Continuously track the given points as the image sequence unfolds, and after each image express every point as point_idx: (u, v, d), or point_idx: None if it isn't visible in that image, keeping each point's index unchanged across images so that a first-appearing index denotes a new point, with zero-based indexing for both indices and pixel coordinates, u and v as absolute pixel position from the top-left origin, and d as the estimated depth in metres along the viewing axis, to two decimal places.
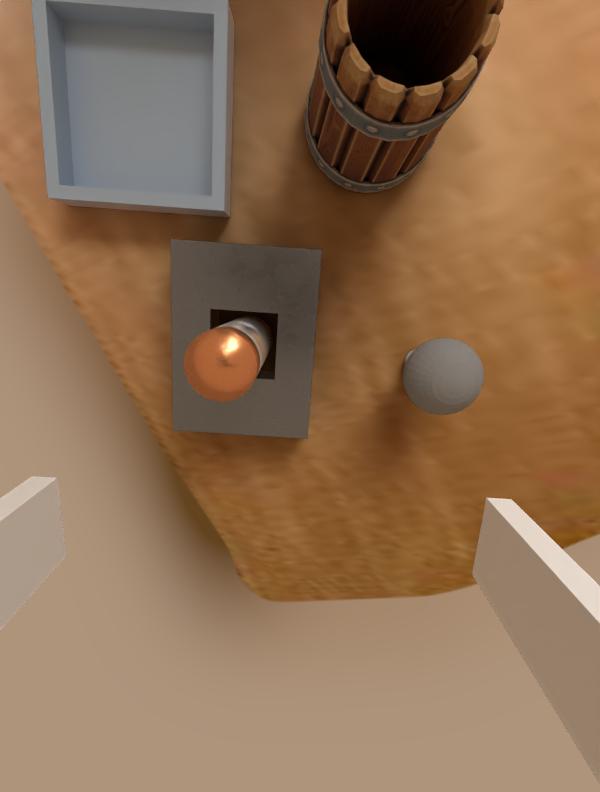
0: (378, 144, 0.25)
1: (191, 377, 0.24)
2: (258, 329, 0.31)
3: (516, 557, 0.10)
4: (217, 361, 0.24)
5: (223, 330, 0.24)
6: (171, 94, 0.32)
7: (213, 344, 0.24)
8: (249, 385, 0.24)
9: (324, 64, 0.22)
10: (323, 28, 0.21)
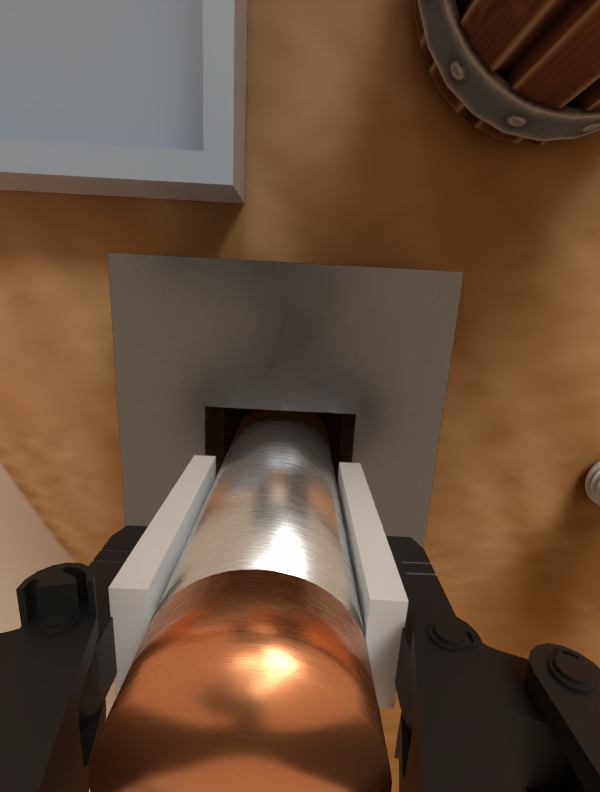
0: None
1: None
2: (321, 470, 0.13)
3: (343, 507, 0.12)
4: (228, 776, 0.06)
5: (253, 669, 0.05)
6: None
7: (210, 722, 0.06)
8: None
9: None
10: None
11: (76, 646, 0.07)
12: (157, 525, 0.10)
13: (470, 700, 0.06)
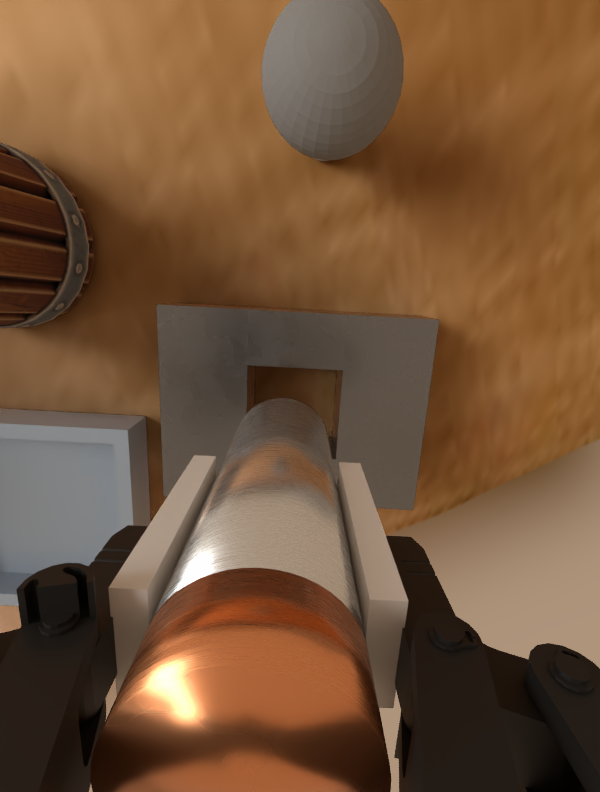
0: None
1: None
2: (321, 470, 0.13)
3: (343, 507, 0.12)
4: (229, 772, 0.06)
5: (253, 667, 0.05)
6: (24, 476, 0.29)
7: (211, 719, 0.06)
8: None
9: None
10: None
11: (76, 646, 0.07)
12: (157, 525, 0.10)
13: (470, 700, 0.06)
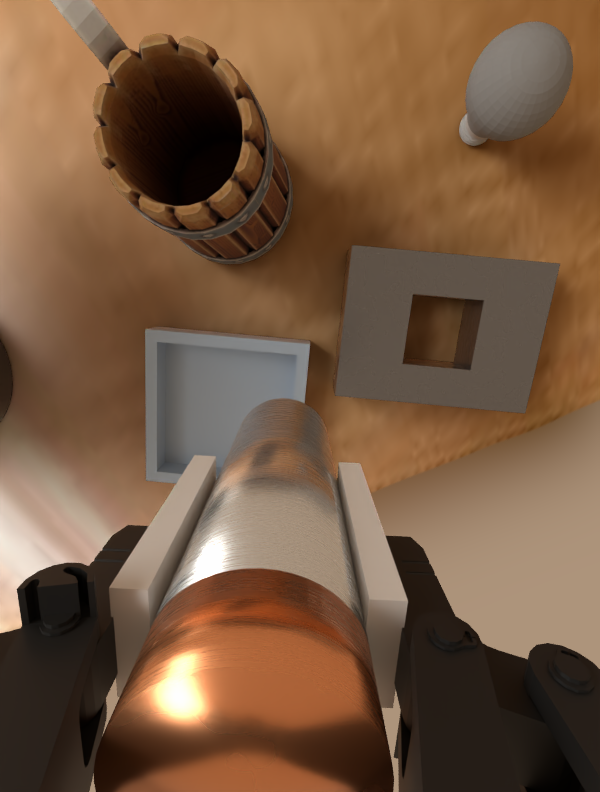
0: (272, 177, 0.25)
1: None
2: (323, 470, 0.13)
3: (342, 507, 0.12)
4: (231, 773, 0.06)
5: (256, 667, 0.05)
6: (212, 384, 0.37)
7: (214, 719, 0.06)
8: None
9: (214, 232, 0.23)
10: (188, 232, 0.23)
11: (77, 646, 0.07)
12: (158, 525, 0.10)
13: (469, 700, 0.06)
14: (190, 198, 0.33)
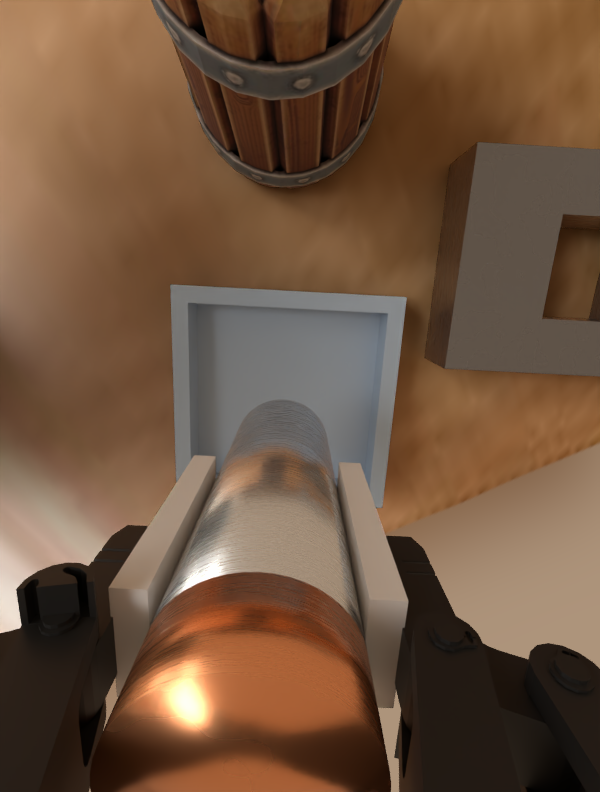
0: None
1: None
2: (321, 472, 0.13)
3: (343, 507, 0.12)
4: (228, 778, 0.06)
5: (253, 673, 0.05)
6: (262, 362, 0.27)
7: (210, 725, 0.06)
8: None
9: (316, 73, 0.13)
10: (273, 69, 0.13)
11: (76, 646, 0.07)
12: (157, 525, 0.10)
13: (470, 700, 0.06)
14: None
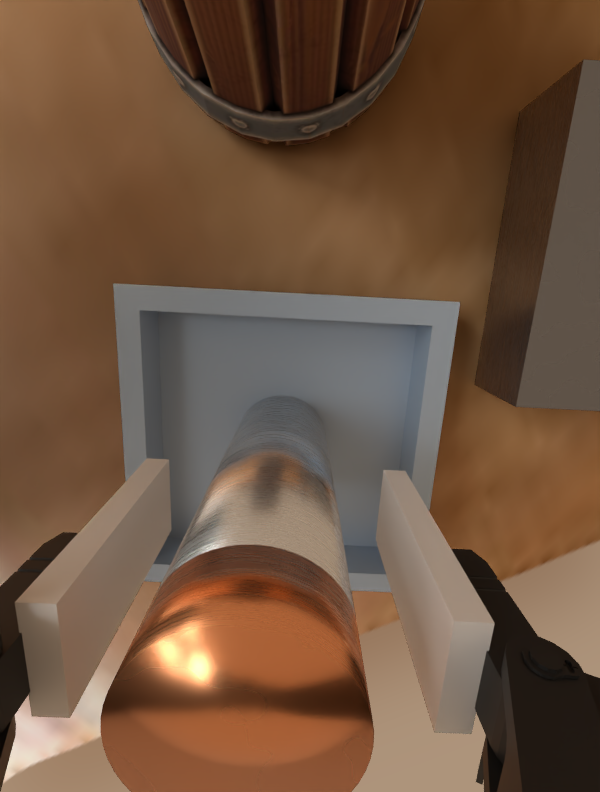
0: None
1: (131, 772, 0.07)
2: (317, 462, 0.13)
3: (394, 517, 0.12)
4: (226, 725, 0.06)
5: (248, 626, 0.06)
6: (250, 392, 0.19)
7: (210, 674, 0.06)
8: None
9: None
10: None
11: None
12: (86, 533, 0.09)
13: (573, 734, 0.06)
14: None
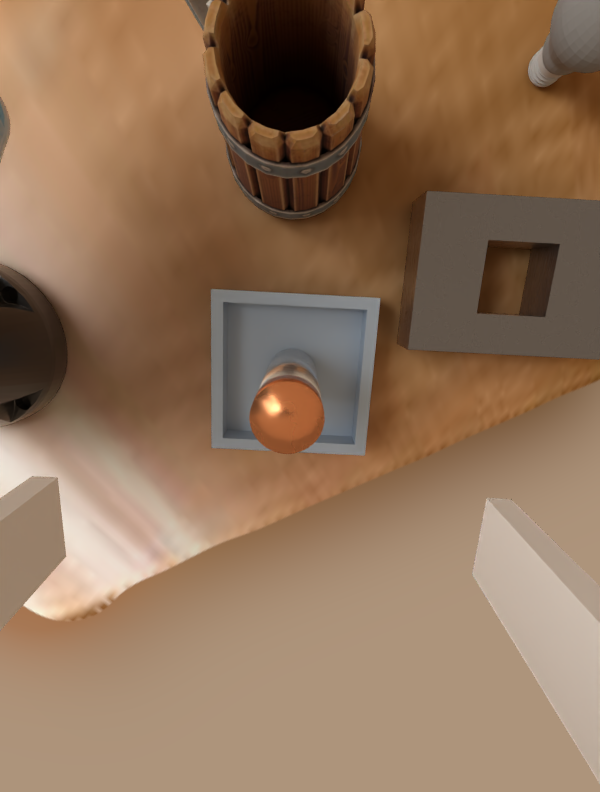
0: None
1: (257, 430, 0.24)
2: (310, 368, 0.30)
3: (517, 557, 0.10)
4: (284, 413, 0.23)
5: (290, 382, 0.23)
6: (275, 346, 0.36)
7: (280, 397, 0.23)
8: (316, 437, 0.24)
9: (314, 166, 0.23)
10: (289, 166, 0.22)
11: None
12: None
13: None
14: None
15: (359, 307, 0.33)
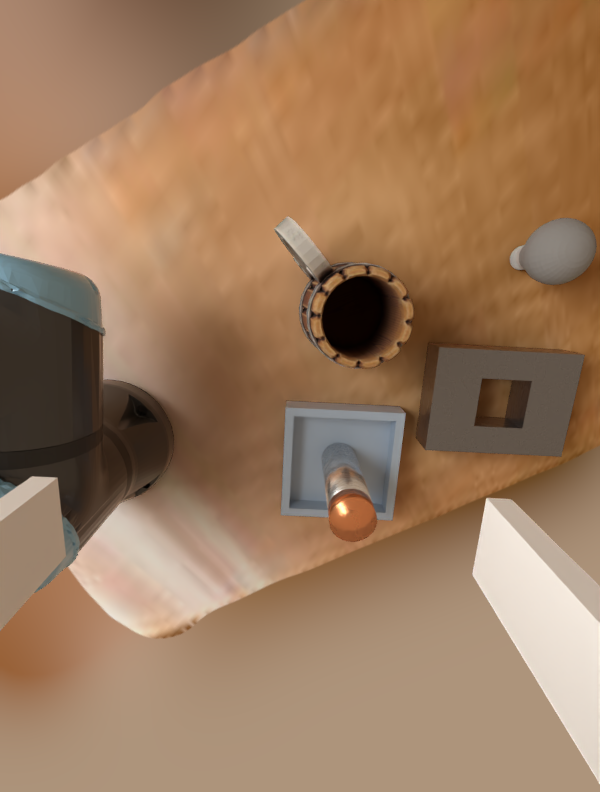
0: None
1: (333, 527, 0.37)
2: (359, 470, 0.44)
3: (517, 558, 0.10)
4: (351, 517, 0.37)
5: (356, 499, 0.36)
6: (327, 441, 0.50)
7: (349, 508, 0.37)
8: (371, 531, 0.37)
9: None
10: (357, 367, 0.36)
11: None
12: None
13: None
14: None
15: (390, 419, 0.47)
